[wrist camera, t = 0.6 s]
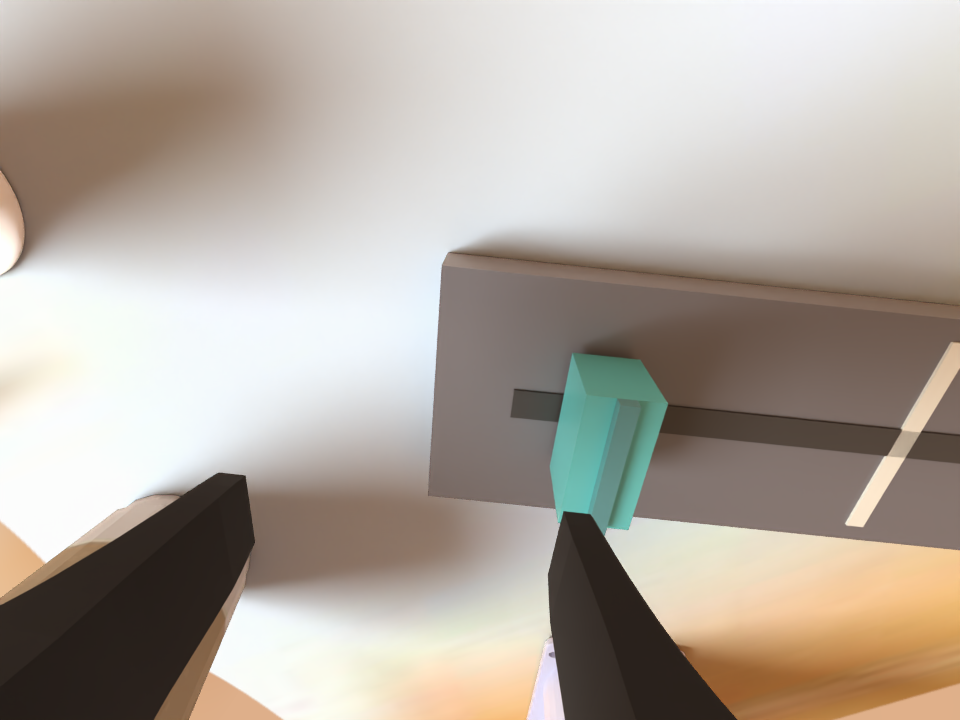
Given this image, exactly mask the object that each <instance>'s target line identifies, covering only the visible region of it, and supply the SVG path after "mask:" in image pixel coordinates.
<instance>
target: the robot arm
mask: <svg viewBox="0 0 960 720" xmlns="http://www.w3.org/2000/svg"><path fill="white" fill-rule="evenodd" d="M254 543H255V539H254V532H253V525H252V518H251V511H250V504H249V497H248V490H247V483H246V476H244V475H235V474H226V473H217V474H215V475H214V476H212V477H211V478H209V479H207V480H206V481H204V482H203V483H201V484H200V485H198V486H196V487H195V488H193V489H192V490H190V491H189V492H187V493H186V494H184V495H183V496H181V497H180V498H178V499H177V500H175V501H174V502H172V503H171V504H169V505H168V506H166V507H165V508H163V509H161V510H160V511H158V512H157V513H155V514H154V515H152V516H151V517H149V518H148V519H146V520H144V521H143V522H141V523H140V524H138V525H137V526H135V527H134V528H132V529H130V530H129V531H127V532H126V533H124V534H123V535H121V536H120V537H118V538H116V539H115V540H113V541H111V542H110V543H108V544H106V545H105V546H103V547H101V548H100V549H98V550H96V551H95V552H93V553H91V554H90V555H88V556H86V557H85V558H83V559H81V560H80V561H78V562H76V563H75V564H73V565H71V566H70V567H68V568H66V569H65V570H63V571H61V572H60V573H58V574H56V575H55V576H53V577H51V578H49V579H48V580H46V581H44V582H42V583H41V584H39V585H37V586H35V587H33V588H31V589H30V590H28V591H26V592H24V593H22V594H21V595H19V596H17V597H15V598H13V599H11V600H9V601H7V602H5V603H3V604H2V605H0V720H154V719H155V717H156V715H157V713H158V712H159V710H160V708H161V707H162V705H163V703H164V701H165V700H166V698H167V696H168V694H169V693H170V691H171V689H172V688H173V686H174V685H175V683H176V681H177V680H178V678H179V676H180V675H181V673H182V672H183V670H184V668H185V667H186V665H187V664H188V662H189V660H190V659H191V657H192V655H193V654H194V652H195V651H196V649H197V647H198V646H199V644H200V642H201V641H202V639H203V638H204V636H205V634H206V633H207V631H208V630H209V628H210V626H211V625H212V623H213V621H214V620H215V618H216V616H217V615H218V613H219V612H220V610H221V608H222V607H223V605H224V603H225V602H226V600H227V598H228V597H229V595H230V593H231V592H232V590H233V588H234V586H235V584H236V582H237V580H238V578H239V576H240V574H241V572H242V570H243V568H244V566H245V563H246V561H247V559H248V557H249V554H250V552H251V550H252V548H253V546H254ZM548 586H549V609H550V624H551V631H552V638H549V639H547V640H546V642H545V646H544V650H543V654H542V658H541V662H540V666H539V670H538V674H537V678H536V682H535V687H534V691H533V695H532V699H531V703H530V707H529V711H528V715H527V719H526V720H737V719H736V718H735V717H734V715H733V714H732V713H731V712H730V711H729V710H728V708H727V707H726V706H725V705H724V704H723V703H722V702H721V700H720V699H719V698H718V697H717V696H716V694H715V693H714V692H713V691H712V690H711V688H710V687H709V686H708V685H707V683H706V682H705V681H704V680H703V679H702V677H701V676H700V675H699V674H698V672H697V671H696V670H695V669H694V667H693V666H692V665H691V664H690V662H689V661H688V660H687V658H686V656H685V654H684V652H682V651H681V650H680V649H679V648H678V647H677V645H676V644H675V643H674V641H673V640H672V639H671V637H670V636H669V634H668V633H667V632H666V630H665V629H664V628H663V626H662V625H661V624H660V622H659V621H658V619H657V618H656V616H655V615H654V614H653V612H652V611H651V609H650V608H649V606H648V605H647V603H646V602H645V600H644V599H643V597H642V596H641V594H640V593H639V591H638V590H637V588H636V587H635V585H634V584H633V582H632V581H631V579H630V578H629V576H628V575H627V573H626V571H625V570H624V568H623V567H622V565H621V563H620V562H619V560H618V559H617V557H616V555H615V554H614V552H613V550H612V549H611V547H610V545H609V544H608V542H607V540H606V539H605V537H604V535H603V533H602V532H601V530H600V528H599V527H598V525H597V523H596V521H595V520H594V518H593V517H592V516H591V514H585V513H576V512H567V511H563V515H562V519H561V523H560V527H559V531H558V536H557V540H556V544H555V548H554V552H553V556H552V560H551V565H550V569H549V573H548Z"/></svg>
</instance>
